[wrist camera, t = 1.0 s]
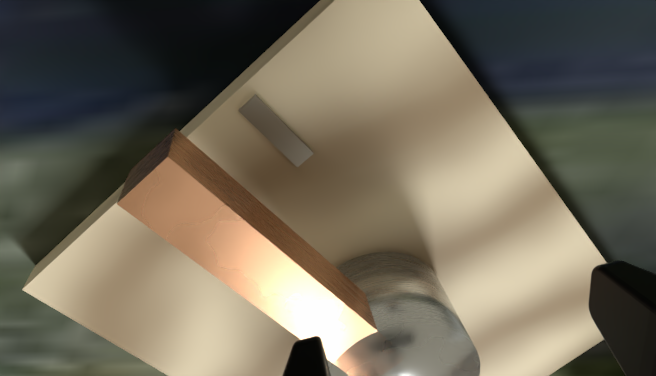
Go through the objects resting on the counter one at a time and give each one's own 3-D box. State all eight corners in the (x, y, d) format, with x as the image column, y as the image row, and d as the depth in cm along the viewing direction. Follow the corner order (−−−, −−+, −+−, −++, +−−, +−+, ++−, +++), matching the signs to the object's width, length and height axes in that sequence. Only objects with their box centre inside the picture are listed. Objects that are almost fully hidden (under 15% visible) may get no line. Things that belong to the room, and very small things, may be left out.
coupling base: (623, 294, 28) (645, 316, 26) (356, 472, 31) (362, 500, 30) (374, -51, 18) (387, -47, 16) (27, 273, 21) (11, 300, 20)
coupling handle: (466, 303, 24) (508, 377, 20) (365, 376, 25) (387, 457, 21) (225, 62, 17) (222, 106, 13) (101, 178, 18) (68, 248, 14)
